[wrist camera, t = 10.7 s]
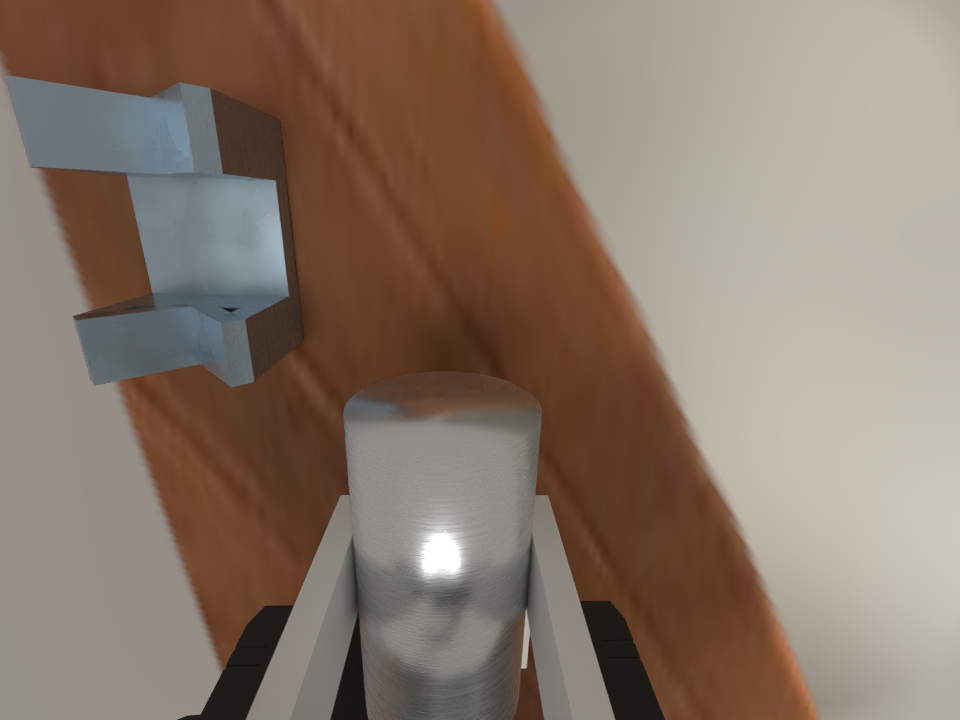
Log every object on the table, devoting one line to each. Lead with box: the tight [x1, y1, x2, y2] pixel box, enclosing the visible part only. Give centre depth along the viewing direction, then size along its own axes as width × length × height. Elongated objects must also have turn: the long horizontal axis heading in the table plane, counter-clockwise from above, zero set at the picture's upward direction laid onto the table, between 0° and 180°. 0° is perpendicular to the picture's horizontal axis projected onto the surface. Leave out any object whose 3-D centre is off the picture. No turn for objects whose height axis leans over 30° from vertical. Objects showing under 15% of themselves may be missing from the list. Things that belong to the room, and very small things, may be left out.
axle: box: [343, 371, 542, 720], centre depth 13 cm, size 10×5×5 cm, turn 178°
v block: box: [5, 75, 304, 387], centre depth 21 cm, size 12×7×8 cm, turn 178°
